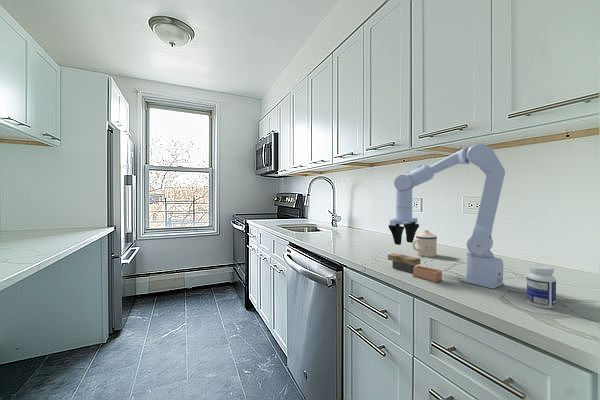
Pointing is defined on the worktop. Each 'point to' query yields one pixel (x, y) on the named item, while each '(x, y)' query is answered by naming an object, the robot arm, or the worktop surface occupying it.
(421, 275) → the tan rectangular block
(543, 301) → the pill bottle
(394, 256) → the walnut sheet
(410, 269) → the rubber mat block
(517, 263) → the worktop surface
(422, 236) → the teacup with lid
